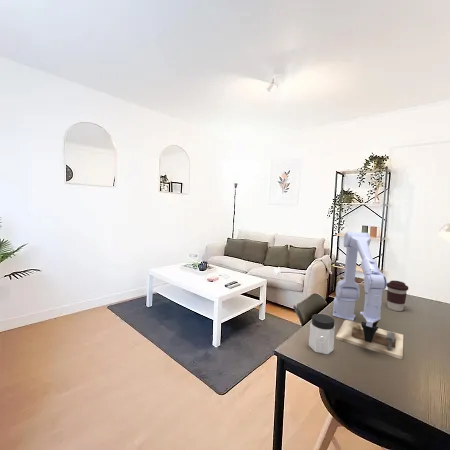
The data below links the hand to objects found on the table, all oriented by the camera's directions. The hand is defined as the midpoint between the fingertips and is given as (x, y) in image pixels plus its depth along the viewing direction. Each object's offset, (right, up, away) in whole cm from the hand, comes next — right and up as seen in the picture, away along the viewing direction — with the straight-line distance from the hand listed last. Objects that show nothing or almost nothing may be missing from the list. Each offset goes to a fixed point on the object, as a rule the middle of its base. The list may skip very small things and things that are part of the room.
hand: (369, 337), depth 103 cm
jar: (-20, -3, -3) cm, 21 cm away
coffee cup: (+36, -2, +40) cm, 54 cm away
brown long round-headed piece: (+2, -2, +2) cm, 3 cm away
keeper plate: (+4, -3, +6) cm, 8 cm away
